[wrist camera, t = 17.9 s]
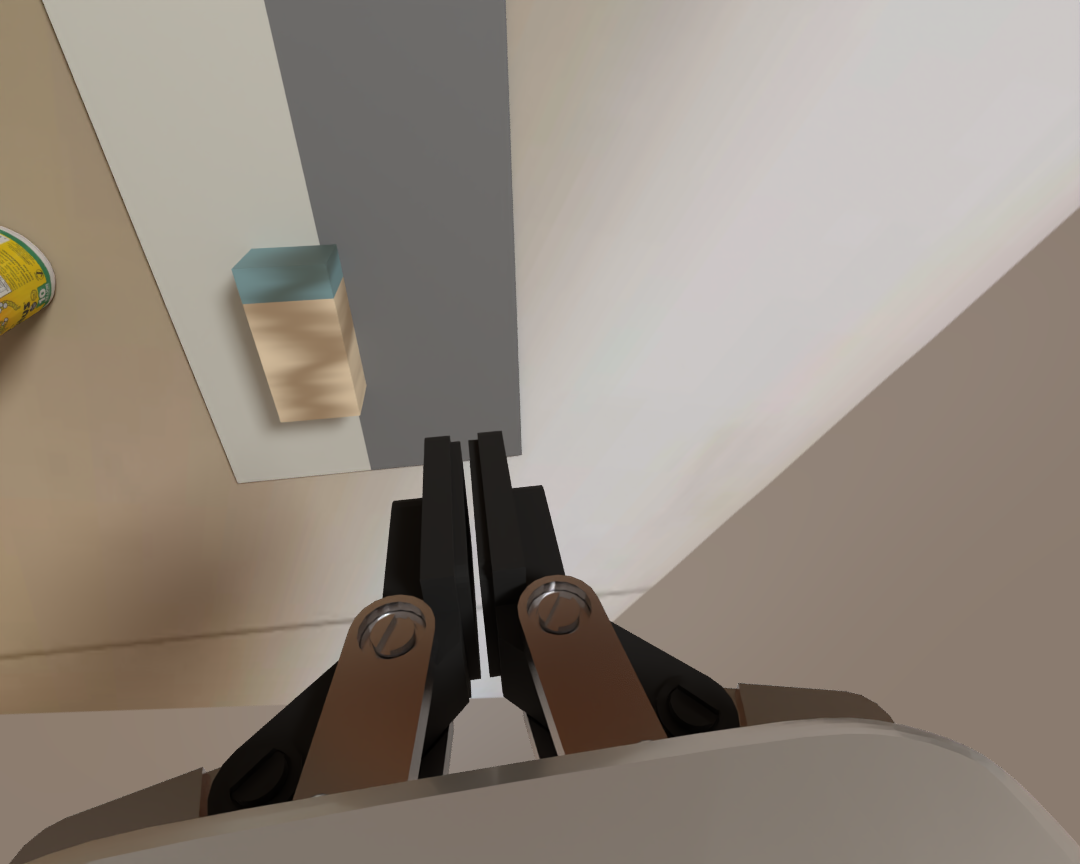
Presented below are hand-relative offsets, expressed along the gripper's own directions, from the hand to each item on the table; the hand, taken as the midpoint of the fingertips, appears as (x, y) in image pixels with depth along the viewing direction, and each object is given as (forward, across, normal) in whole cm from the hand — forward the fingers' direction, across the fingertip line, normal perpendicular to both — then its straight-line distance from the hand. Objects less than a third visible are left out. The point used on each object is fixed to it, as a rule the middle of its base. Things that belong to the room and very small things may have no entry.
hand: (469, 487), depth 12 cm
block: (+25, +10, +2) cm, 27 cm away
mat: (+27, +7, +4) cm, 28 cm away
